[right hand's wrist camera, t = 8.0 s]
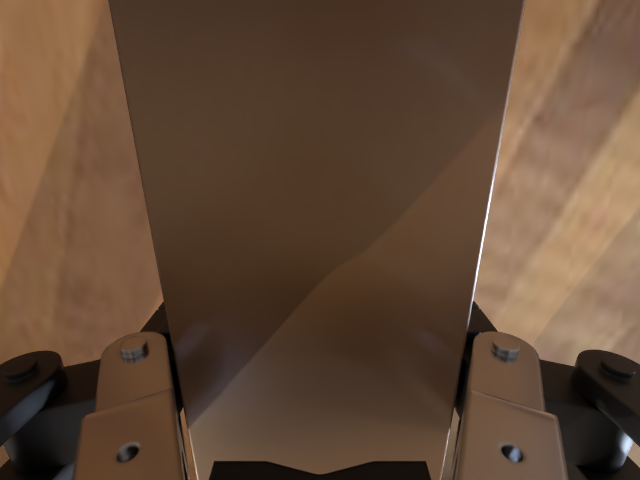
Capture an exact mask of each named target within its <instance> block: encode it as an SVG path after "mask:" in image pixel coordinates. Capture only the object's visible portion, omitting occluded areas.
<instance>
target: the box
mask: <svg viewBox="0 0 640 480" xmlns="http://www.w3.org/2000/svg"><path fill="white" fill-rule="evenodd" d="M525 4H526V0H109V6H110V11H111V17H112V22H113V27H114V33H115V38H116V44H117V49H118V55H119V60H120V65H121V71H122V76H123V82H124V87H125V93H126V98H127V104H128V109H129V114H130V120H131V125H132V131H133V136H134V142H135V147H136V152H137V158H138V163H139V169H140V174H141V180H142V185H143V190H144V196H145V201H146V207H147V212H148V218H149V223H150V228H151V234H152V239H153V245H154V250H155V256H156V261H157V266H158V272H159V277H160V283H161V288H162V294H163V299H164V304H165V310H166V315H167V321H168V326H169V332H170V337H171V342H172V348H173V353H174V359H175V364H176V370H177V375H178V380H179V386H180V391H181V397H182V402H183V408H184V413H185V418H186V424H187V429H188V435H189V440H190V446H191V451H192V456H193V462H194V467H195V473H196V478H197V480H209V477H210V473H211V470H212V467H213V463H214V461H268V462H272V463H276V464H280V465H283V466H287V467H291V468H295V469H299V470H302V471H306V472H310V473H314V474H326V473H330V472H334V471H338V470H341V469H345V468H349V467H353V466H357V465H360V464H364V463H368V462H372V461H426V463H427V467H428V470H429V474H430V477H431V480H441V478H442V472H443V467H444V461H445V455H446V450H447V444H448V438H449V433H450V427H451V421H452V416H453V410H454V404H455V399H456V393H457V388H458V382H459V376H460V371H461V365H462V359H463V354H464V348H465V342H466V337H467V331H468V325H469V320H470V314H471V309H472V303H473V297H474V292H475V286H476V280H477V275H478V269H479V263H480V258H481V252H482V246H483V241H484V235H485V230H486V224H487V218H488V213H489V207H490V201H491V196H492V190H493V184H494V179H495V173H496V167H497V162H498V156H499V150H500V145H501V139H502V134H503V128H504V122H505V117H506V111H507V105H508V100H509V94H510V88H511V83H512V77H513V71H514V66H515V60H516V55H517V49H518V43H519V38H520V32H521V26H522V21H523V15H524V9H525Z"/></svg>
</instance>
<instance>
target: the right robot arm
mask: <svg viewBox="0 0 640 480" xmlns="http://www.w3.org/2000/svg"><path fill="white" fill-rule="evenodd" d="M454 407H455V409H456V411H457V413H458V416H459V421H458V427H457V434H456V440H455V447H454V454H453V460H452V467H451V474H450V480H640V468H639V467H638V466H637V465H636V464H635V463H634V462H633V461H632V460H631V459H630V458H629V457H628V456H627V454H628V452H629V450H630V448H631V445H632V443H633V441H634V442H635V443H636V444H637V445H638V446H639V447H640V365H639V364H638V363H636V362H634V361H632V360H630V359H628V358H626V357H623V356H621V355H618V354H615V353H611V352H607V351H602V350H586V351H583V352H581V353H580V354H579V355H578V357H577V360H576V363H575V366H569V365H564V364H559V363H554V362H549V361H545V360H540V359H539V356H538V353H537V352H536V350H535V349H534V348H533V347H532V346H531V345H530V344H528V343H527V342H525V341H524V340H522V339H520V338H518V337H516V336H513V335H510V334H506V333H502V332H498V331H497V330H496V328H495V327H494V326H493V325H492V323H491V322H490V321H489V319H488V318H487V317H486V316H485V314H484V313H483V312H482V310H481V309H479V307H478V305H477V304H476V303H475V302H473V303H472V309H471V314H470V320H469V325H468V331H467V337H466V342H465V348H464V354H463V359H462V365H461V371H460V376H459V382H458V388H457V393H456V399H455V404H454ZM182 408H183V402H182V397H181V391H180V386H179V380H178V375H177V370H176V364H175V359H174V353H173V348H172V342H171V337H170V332H169V326H168V321H167V315H166V310H165V304H164V302H163V303H162V304H161V305H160V307H159V309H158V310H156V312H155V313H154V314H153V316H152V317H151V318H150V319H149V321H148V322H147V323H146V324H145V326H144V327H143V328H142V330H141V331H140V332H138V333H134V334H130V335H127V336H124V337H122V338H120V339H118V340H116V341H115V342H113V343H112V344H110V345H109V346H108V347H107V348H106V349H105V350H104V352H103V353H102V356H101V359H99V360H96V361H91V362H86V363H82V364H77V365H72V366H67V367H64V365H63V362H62V359H61V357H60V355H59V354H58V353H56V352H53V351H37V352H31V353H27V354H24V355H21V356H18V357H15V358H13V359H11V360H9V361H6V362H5V363H3V364H1V365H0V447H1V446H2V445H3V444H4V447H5V449H6V451H7V453H8V456H9V458H10V459H9V460H8V461H7V462H6V463H5V464H4V465H3V466H2V467H1V468H0V480H190V474H189V467H188V460H187V454H186V447H185V440H184V434H183V427H182V421H181V416H180V412H181V410H182ZM209 480H431V477H430V474H429V470H428V467H427V463H426V461H372V462H368V463H364V464H360V465H357V466H353V467H349V468H345V469H341V470H338V471H334V472H330V473H326V474H314V473H310V472H306V471H302V470H299V469H295V468H291V467H287V466H283V465H280V464H276V463H272V462H268V461H214V463H213V467H212V470H211V473H210V477H209Z"/></svg>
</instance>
